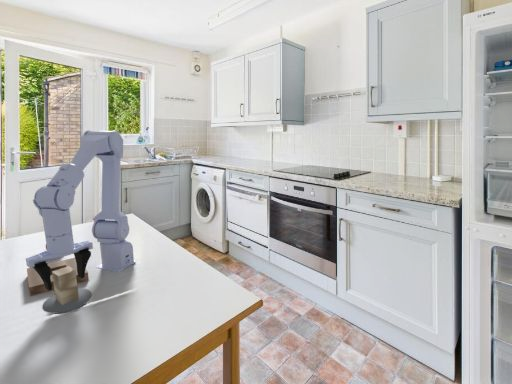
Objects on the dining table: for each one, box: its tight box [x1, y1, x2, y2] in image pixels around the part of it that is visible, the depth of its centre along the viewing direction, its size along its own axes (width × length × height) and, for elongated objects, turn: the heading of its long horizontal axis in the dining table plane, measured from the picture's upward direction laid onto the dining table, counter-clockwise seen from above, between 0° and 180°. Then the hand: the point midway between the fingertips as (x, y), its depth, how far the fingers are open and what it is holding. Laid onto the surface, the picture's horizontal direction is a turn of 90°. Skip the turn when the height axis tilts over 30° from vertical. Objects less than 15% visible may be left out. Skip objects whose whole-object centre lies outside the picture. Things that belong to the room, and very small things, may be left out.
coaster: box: [42, 287, 93, 315], centre depth 78 cm, size 11×11×1 cm
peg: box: [52, 266, 79, 305], centre depth 78 cm, size 4×4×8 cm
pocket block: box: [26, 257, 90, 297], centre depth 89 cm, size 14×14×3 cm
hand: (65, 282), depth 77 cm, fingers open, 7 cm apart
